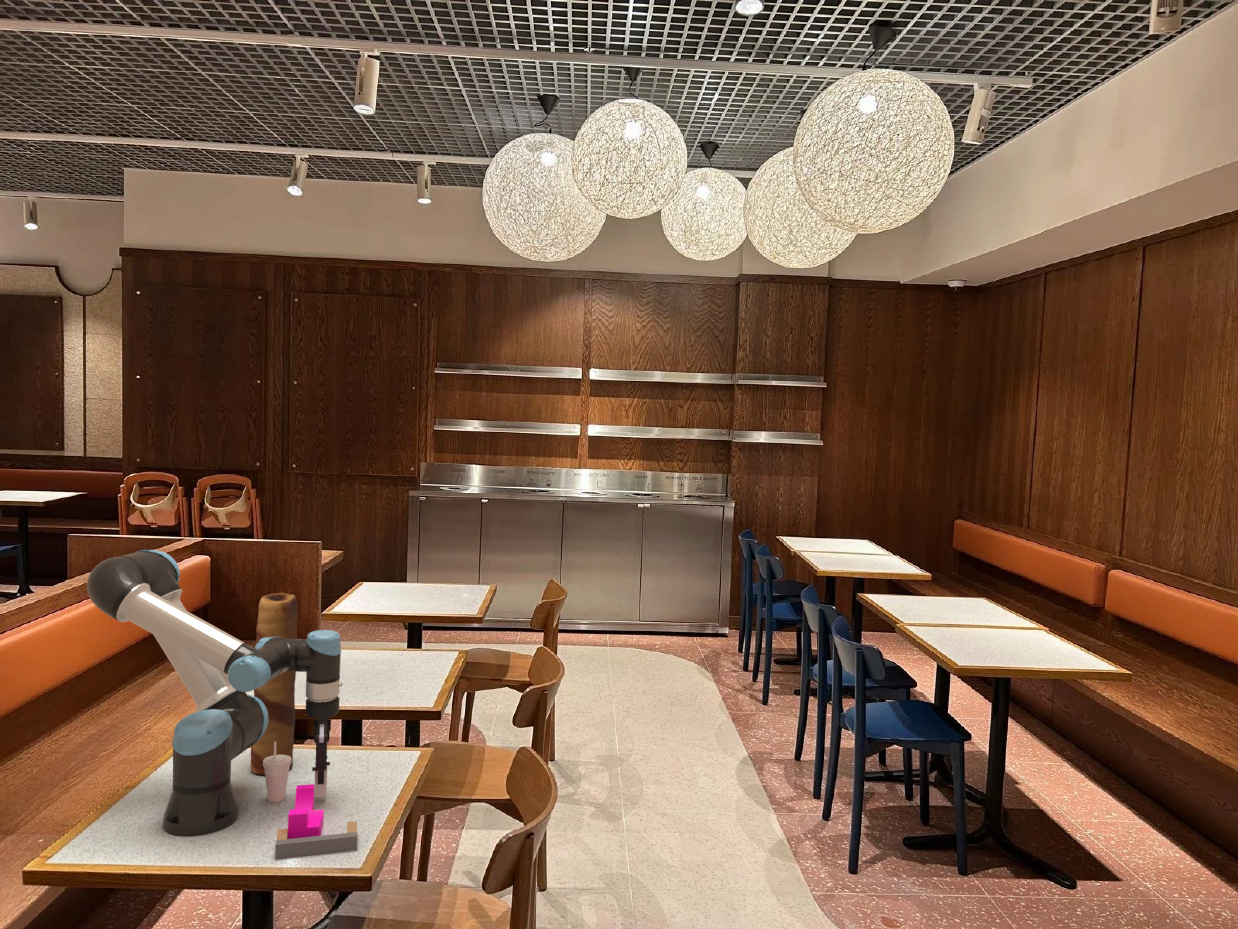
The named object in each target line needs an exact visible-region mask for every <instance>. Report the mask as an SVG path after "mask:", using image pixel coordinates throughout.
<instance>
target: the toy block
mask: <svg viewBox="0 0 1238 929" xmlns="http://www.w3.org/2000/svg"><path fill="white" fill-rule="evenodd" d="M314 791H315V783H313V784H310V783H309V784H299V785H296V788H295V800H294V808H293V809H289V811H288V815H287V828H288V839H294V838H304V837H313V836H322V830H323V827H324V826H323V825H324V814H325V813H324V812H325V811H324V810H325V809H315V797H314Z"/></svg>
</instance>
